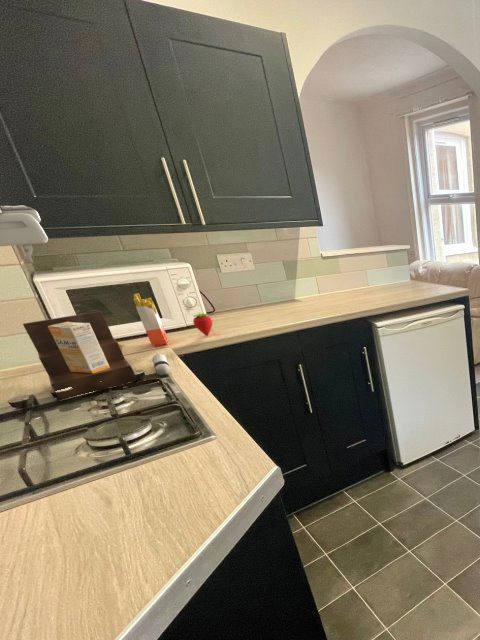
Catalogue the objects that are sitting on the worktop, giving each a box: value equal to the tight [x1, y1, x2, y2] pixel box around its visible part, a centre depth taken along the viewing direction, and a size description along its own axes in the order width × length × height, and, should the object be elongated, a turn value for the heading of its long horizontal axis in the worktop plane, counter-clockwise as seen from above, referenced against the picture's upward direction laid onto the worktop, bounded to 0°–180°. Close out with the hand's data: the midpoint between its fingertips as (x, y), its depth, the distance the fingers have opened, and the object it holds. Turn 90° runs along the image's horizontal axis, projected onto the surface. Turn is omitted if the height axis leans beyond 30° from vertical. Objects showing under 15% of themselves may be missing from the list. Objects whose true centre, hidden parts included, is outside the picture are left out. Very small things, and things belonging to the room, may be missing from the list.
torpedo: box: [149, 345, 171, 376], centre depth 127 cm, size 18×5×7 cm, turn 42°
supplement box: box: [48, 322, 110, 374], centre depth 112 cm, size 8×5×13 cm, turn 76°
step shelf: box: [22, 310, 138, 401], centre depth 116 cm, size 16×19×18 cm
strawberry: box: [192, 313, 213, 336], centre depth 159 cm, size 6×8×10 cm
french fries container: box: [133, 293, 169, 347], centre depth 150 cm, size 5×11×18 cm, turn 36°
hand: (3, 265), depth 106 cm, fingers open, 8 cm apart
